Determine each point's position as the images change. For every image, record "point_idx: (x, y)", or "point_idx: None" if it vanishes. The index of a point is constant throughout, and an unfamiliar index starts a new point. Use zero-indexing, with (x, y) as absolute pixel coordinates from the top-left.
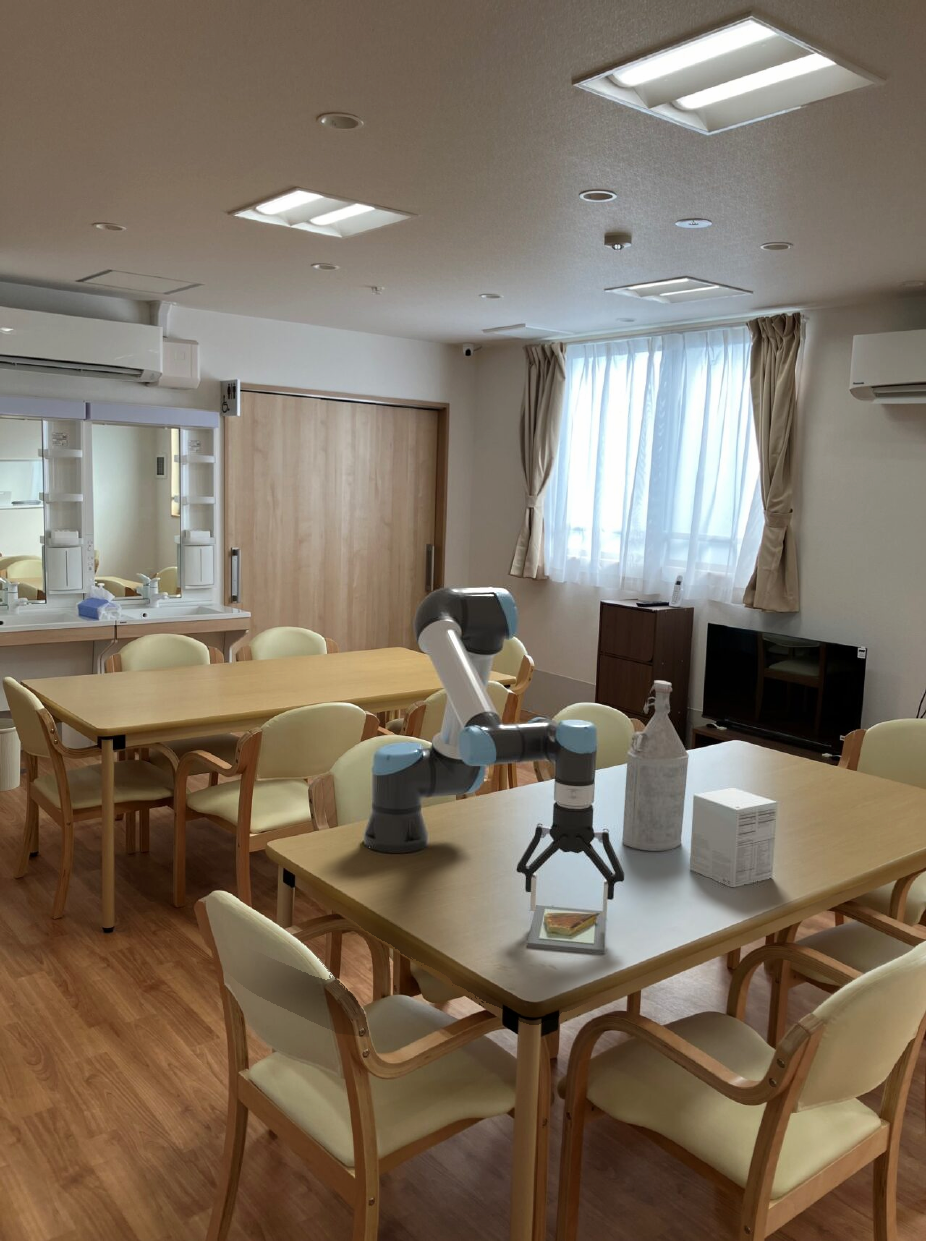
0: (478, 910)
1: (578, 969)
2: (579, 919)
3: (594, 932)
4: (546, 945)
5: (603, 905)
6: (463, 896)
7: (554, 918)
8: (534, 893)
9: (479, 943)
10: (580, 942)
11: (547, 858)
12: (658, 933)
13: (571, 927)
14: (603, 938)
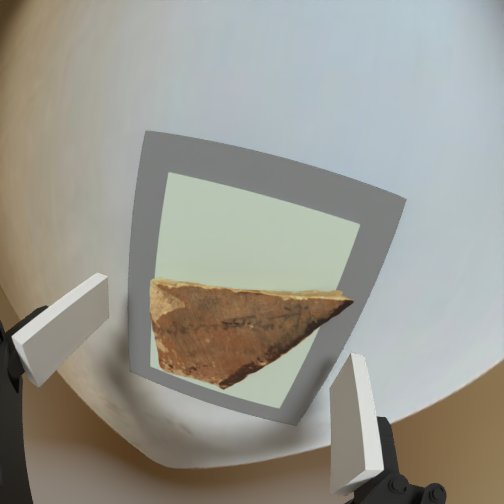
0: (35, 164)
1: (229, 443)
2: (260, 347)
3: (302, 364)
4: (169, 386)
5: (332, 422)
6: (23, 88)
7: (175, 338)
8: (73, 350)
9: None
10: (248, 399)
11: (24, 473)
12: (474, 331)
13: (224, 383)
14: (317, 386)
